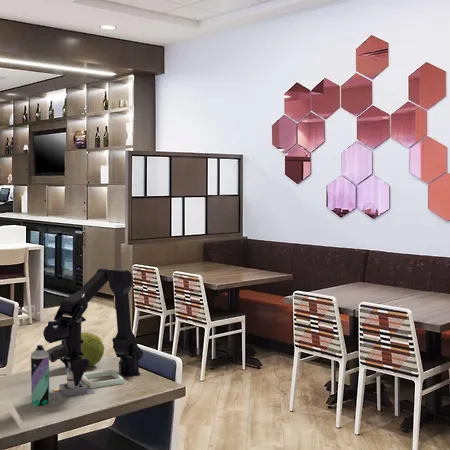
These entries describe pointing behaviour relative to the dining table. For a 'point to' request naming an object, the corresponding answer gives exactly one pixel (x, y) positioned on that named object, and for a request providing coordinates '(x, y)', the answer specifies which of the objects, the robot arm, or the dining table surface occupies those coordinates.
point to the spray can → (40, 376)
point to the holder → (72, 391)
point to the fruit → (92, 348)
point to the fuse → (70, 380)
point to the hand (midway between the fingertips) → (73, 382)
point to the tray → (102, 383)
